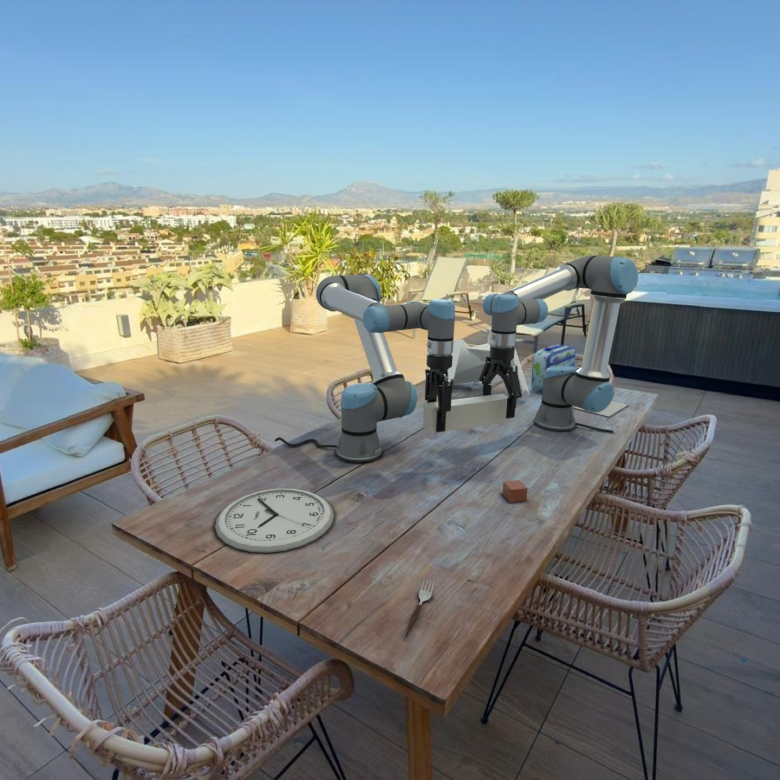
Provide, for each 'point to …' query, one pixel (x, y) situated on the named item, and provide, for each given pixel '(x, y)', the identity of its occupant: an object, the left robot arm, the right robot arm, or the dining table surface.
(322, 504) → the wall clock
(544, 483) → the dining table surface
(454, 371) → the white plastic object
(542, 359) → the lunch box
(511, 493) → the terracotta block
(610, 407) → the invitation card
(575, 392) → the right robot arm
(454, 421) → the beam
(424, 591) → the fork
